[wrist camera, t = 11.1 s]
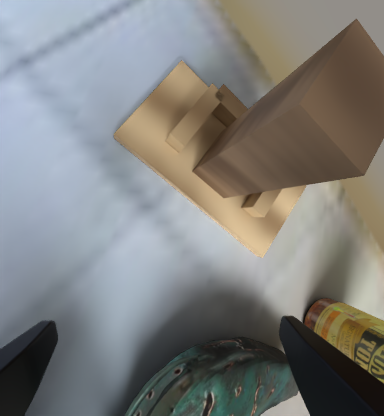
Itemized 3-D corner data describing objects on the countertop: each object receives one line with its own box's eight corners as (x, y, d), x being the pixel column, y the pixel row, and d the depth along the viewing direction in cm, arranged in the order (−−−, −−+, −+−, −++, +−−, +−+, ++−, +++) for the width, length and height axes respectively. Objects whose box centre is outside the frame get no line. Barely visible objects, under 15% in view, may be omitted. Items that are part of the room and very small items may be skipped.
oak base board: (256, 256, 23) (276, 262, 20) (114, 138, 18) (112, 124, 16) (299, 187, 25) (322, 183, 22) (179, 67, 20) (188, 43, 18)
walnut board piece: (223, 198, 20) (364, 175, 9) (191, 171, 20) (299, 103, 8) (250, 159, 21) (408, 90, 10) (221, 131, 21) (356, 18, 9)
